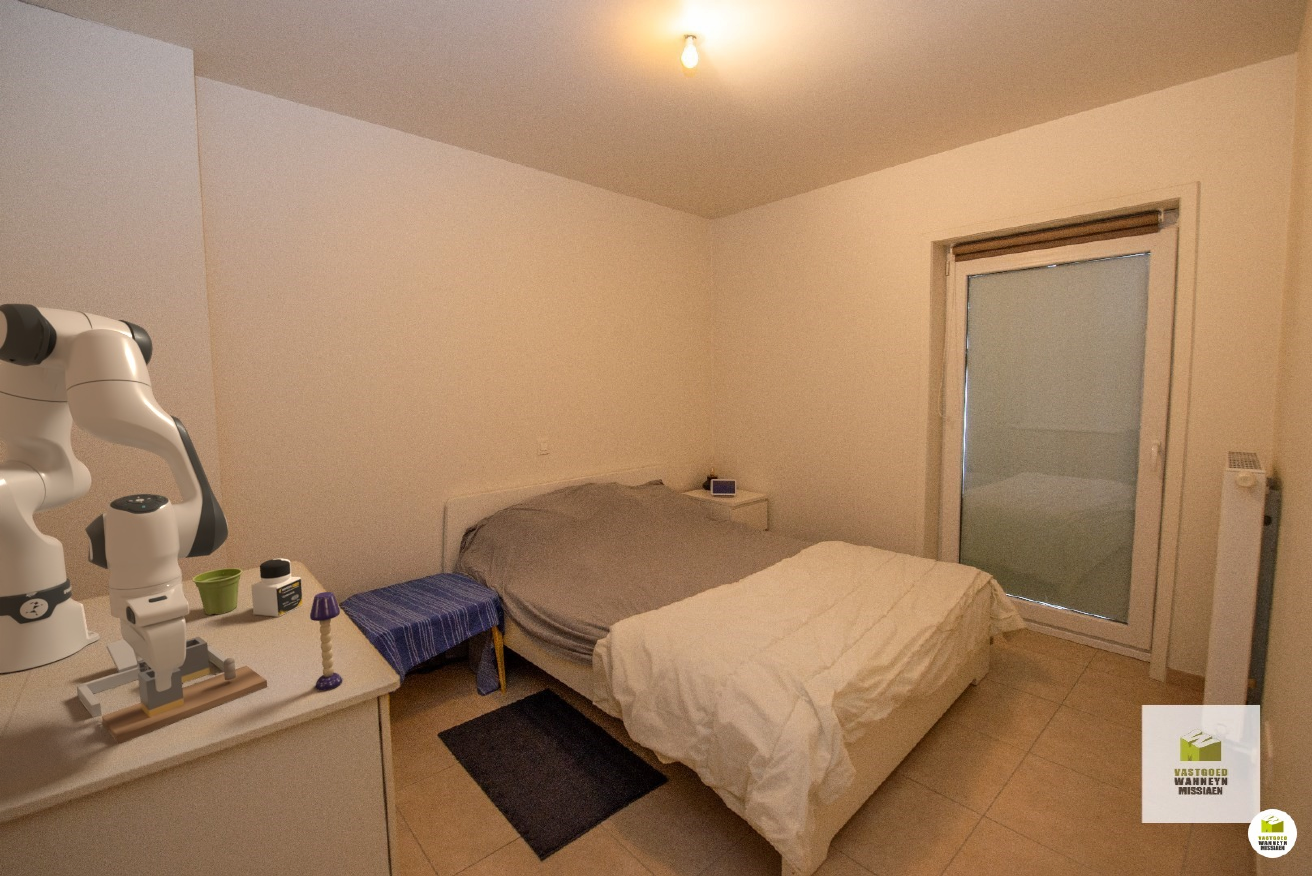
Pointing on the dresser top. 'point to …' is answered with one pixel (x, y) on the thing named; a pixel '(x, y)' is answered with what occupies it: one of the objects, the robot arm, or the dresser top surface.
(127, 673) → the tray
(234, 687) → the pin board
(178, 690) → the sleeve
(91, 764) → the dresser top surface
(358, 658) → the dresser top surface
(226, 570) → the plant pot
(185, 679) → the sleeve
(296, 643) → the dresser top surface
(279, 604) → the medicine bottle
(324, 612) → the toy lamp
